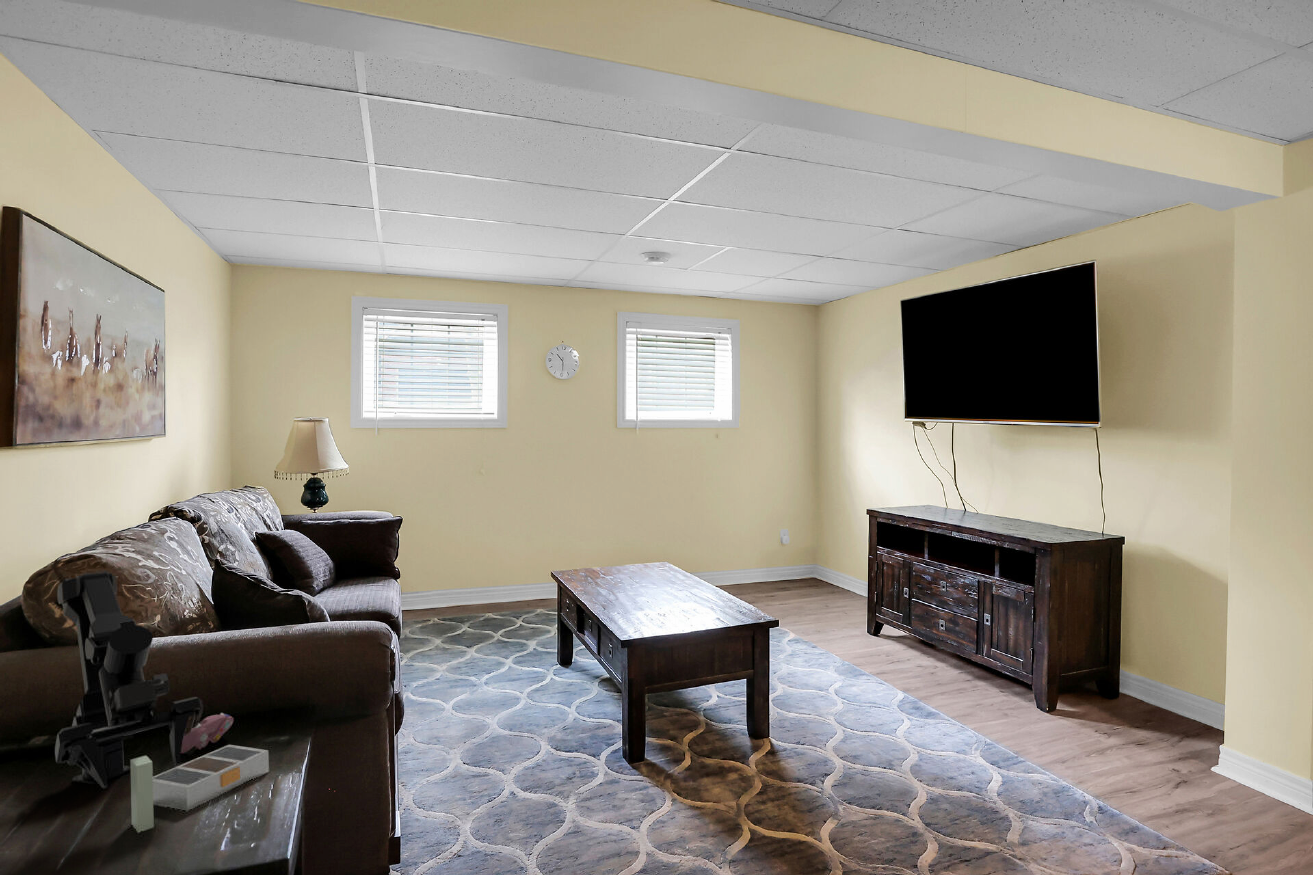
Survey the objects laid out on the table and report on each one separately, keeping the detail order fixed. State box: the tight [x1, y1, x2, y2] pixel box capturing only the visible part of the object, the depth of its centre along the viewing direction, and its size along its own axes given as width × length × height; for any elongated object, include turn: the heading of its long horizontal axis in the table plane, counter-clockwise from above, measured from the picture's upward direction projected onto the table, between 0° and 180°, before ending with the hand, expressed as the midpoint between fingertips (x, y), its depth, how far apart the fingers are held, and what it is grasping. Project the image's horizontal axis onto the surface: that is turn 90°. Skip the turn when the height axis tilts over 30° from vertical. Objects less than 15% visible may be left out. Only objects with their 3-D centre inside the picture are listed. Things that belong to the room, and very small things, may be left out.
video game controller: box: [181, 712, 235, 754], centre depth 141 cm, size 10×5×7 cm, turn 169°
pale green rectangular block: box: [129, 755, 155, 834], centre depth 109 cm, size 4×2×10 cm, turn 48°
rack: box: [153, 744, 270, 812], centre depth 122 cm, size 10×15×4 cm
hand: (142, 775), depth 109 cm, fingers open, 9 cm apart
